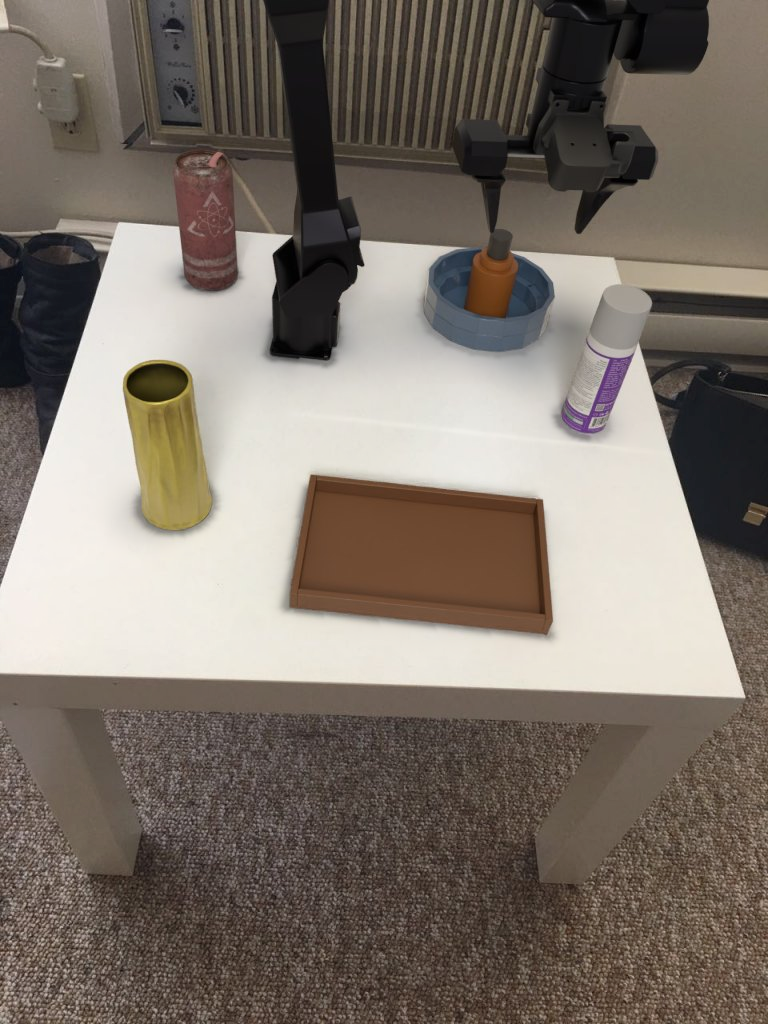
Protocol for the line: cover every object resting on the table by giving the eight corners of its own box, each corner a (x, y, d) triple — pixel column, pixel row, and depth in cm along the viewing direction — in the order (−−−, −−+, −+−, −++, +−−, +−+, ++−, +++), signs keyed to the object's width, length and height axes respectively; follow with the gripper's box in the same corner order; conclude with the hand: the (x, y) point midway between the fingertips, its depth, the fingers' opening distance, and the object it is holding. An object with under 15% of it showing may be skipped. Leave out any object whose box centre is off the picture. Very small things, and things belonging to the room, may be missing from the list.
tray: (289, 607, 67) (289, 593, 65) (310, 488, 76) (310, 473, 74) (547, 634, 67) (553, 621, 66) (538, 513, 76) (543, 499, 75)
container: (603, 409, 87) (650, 286, 75) (606, 439, 83) (656, 317, 72) (559, 403, 86) (599, 280, 75) (561, 433, 83) (603, 310, 72)
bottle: (463, 323, 94) (478, 244, 86) (463, 297, 97) (478, 219, 89) (507, 328, 94) (526, 249, 86) (505, 302, 97) (523, 225, 89)
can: (248, 272, 97) (244, 156, 87) (219, 299, 93) (210, 181, 83) (204, 256, 98) (194, 140, 88) (174, 282, 95) (160, 164, 84)
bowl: (421, 346, 91) (426, 312, 87) (425, 274, 100) (430, 241, 97) (548, 360, 91) (558, 327, 88) (541, 287, 100) (549, 254, 97)
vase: (153, 540, 70) (129, 416, 59) (132, 491, 74) (105, 365, 63) (221, 518, 72) (210, 395, 62) (198, 471, 76) (183, 347, 65)
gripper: (490, 106, 66) (459, 276, 77) (708, 115, 68) (646, 277, 80) (464, 51, 73) (439, 213, 85) (662, 60, 76) (611, 217, 87)
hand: (534, 231), depth 84 cm, fingers open, 9 cm apart
